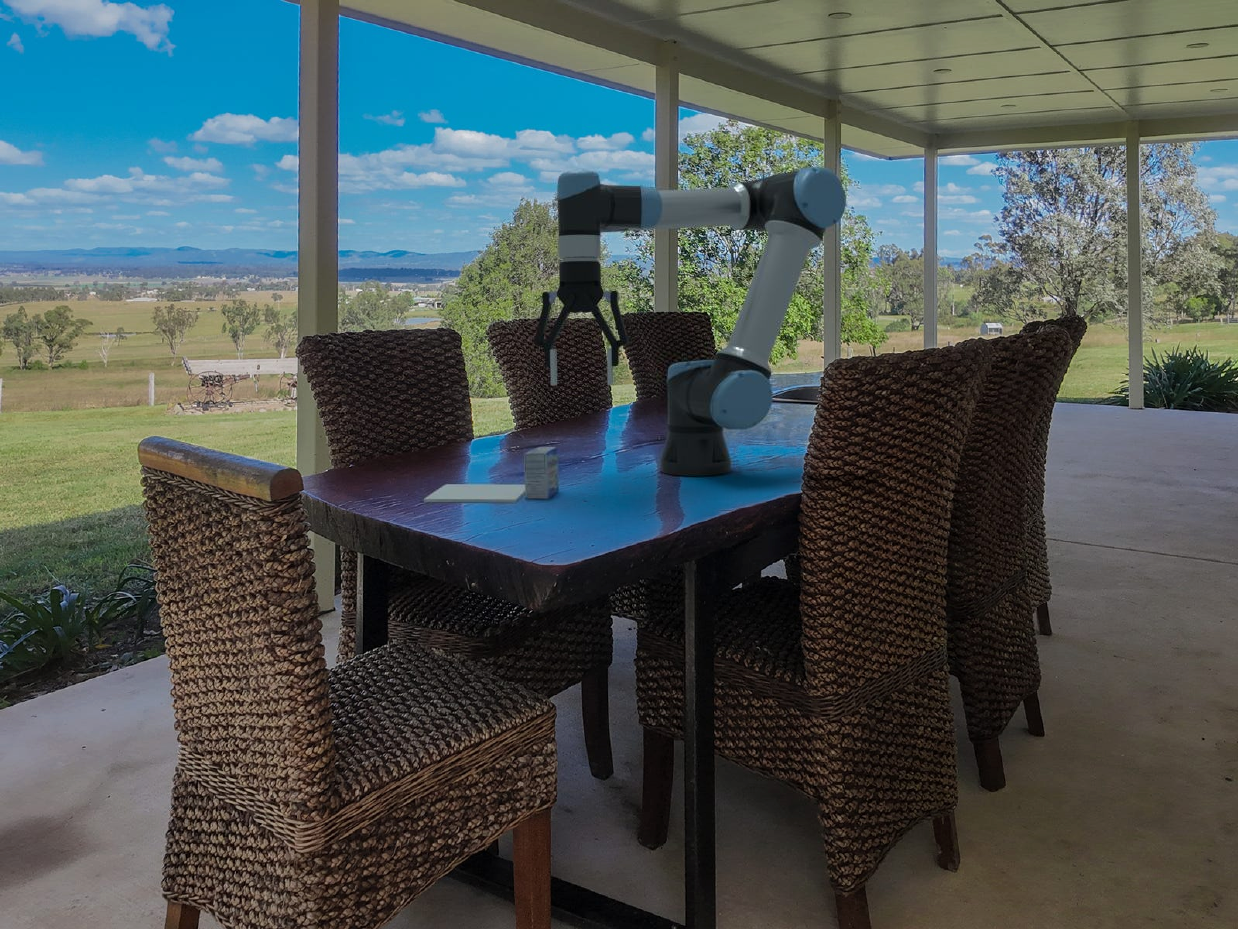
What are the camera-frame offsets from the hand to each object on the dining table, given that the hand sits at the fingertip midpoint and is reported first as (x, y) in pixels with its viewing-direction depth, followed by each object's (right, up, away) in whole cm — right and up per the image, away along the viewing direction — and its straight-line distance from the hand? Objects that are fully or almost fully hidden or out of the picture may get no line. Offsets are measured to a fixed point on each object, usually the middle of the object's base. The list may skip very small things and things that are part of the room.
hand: (582, 384), depth 186 cm
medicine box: (-8, -21, +4) cm, 22 cm away
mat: (-20, -20, +5) cm, 29 cm away
